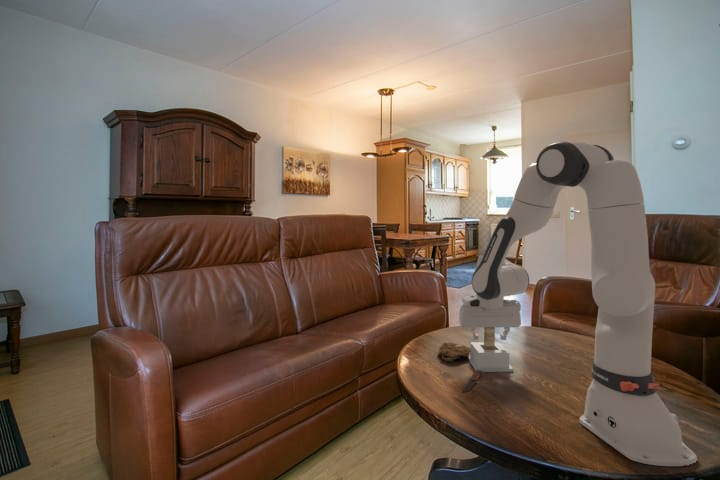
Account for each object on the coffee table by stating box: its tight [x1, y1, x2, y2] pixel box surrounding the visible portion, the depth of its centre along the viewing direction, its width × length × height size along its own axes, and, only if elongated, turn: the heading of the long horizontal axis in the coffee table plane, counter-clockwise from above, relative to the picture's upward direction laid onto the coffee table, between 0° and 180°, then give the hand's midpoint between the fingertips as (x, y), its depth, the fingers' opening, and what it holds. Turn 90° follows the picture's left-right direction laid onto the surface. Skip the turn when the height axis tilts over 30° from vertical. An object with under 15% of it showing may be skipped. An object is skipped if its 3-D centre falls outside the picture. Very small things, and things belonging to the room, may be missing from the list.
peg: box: [483, 327, 496, 350], centre depth 125 cm, size 3×3×12 cm
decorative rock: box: [437, 342, 470, 363], centre depth 133 cm, size 11×4×15 cm
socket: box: [466, 341, 514, 373], centre depth 125 cm, size 12×12×6 cm
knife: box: [462, 370, 483, 393], centre depth 112 cm, size 17×1×3 cm
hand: (489, 339), depth 125 cm, fingers open, 8 cm apart
